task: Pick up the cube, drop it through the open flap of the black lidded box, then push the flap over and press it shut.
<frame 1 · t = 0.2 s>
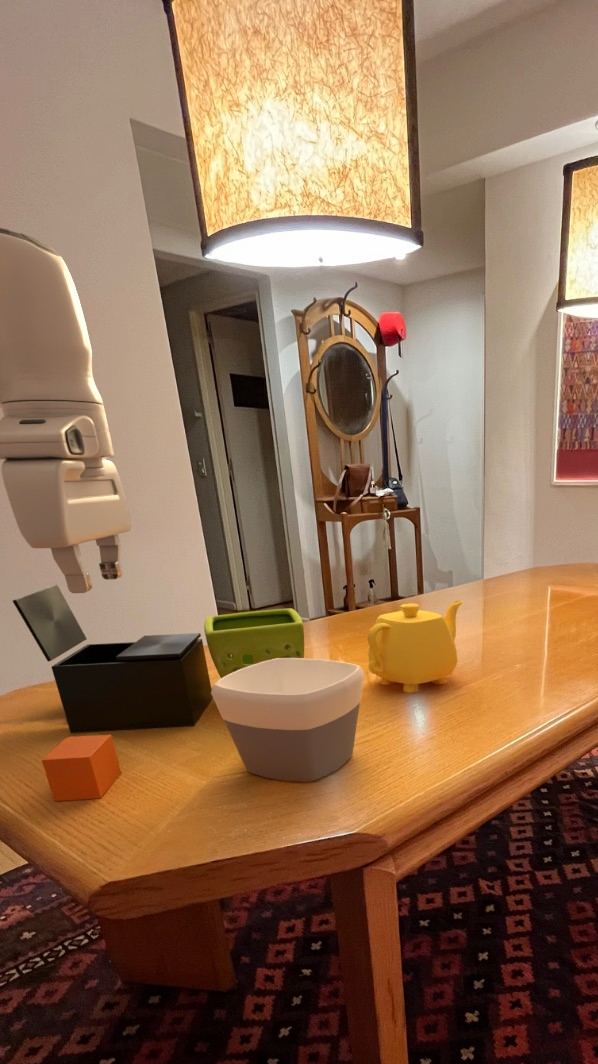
hand: (98, 585, 72), 22 cm above the table, tool pointing down, fingers open, 8 cm apart
cube: (89, 786, 78), on the table
flap: (52, 621, 94), point 14 cm above the table, hinge at 105.0°
teapot: (420, 681, 114), on the table
flower pot: (265, 701, 106), on the table
black lidded box: (146, 714, 101), on the table
bowl: (301, 764, 83), on the table
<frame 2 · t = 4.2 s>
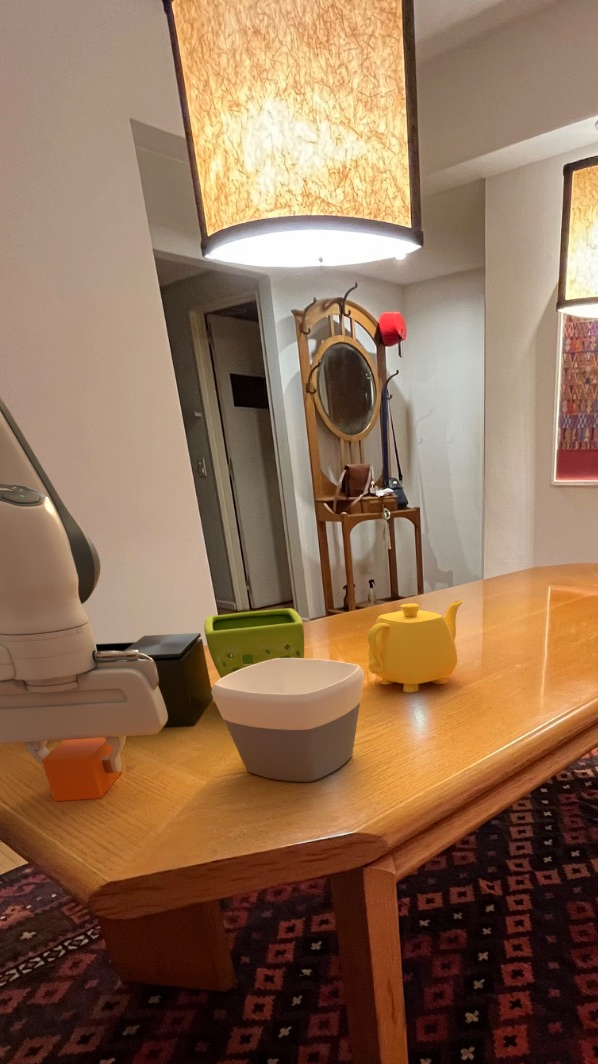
hand: (85, 773, 77), 2 cm above the table, tool pointing down, fingers closed on cube, 5 cm apart
cube: (89, 786, 78), on the table, touching gripper
everything else where it was.
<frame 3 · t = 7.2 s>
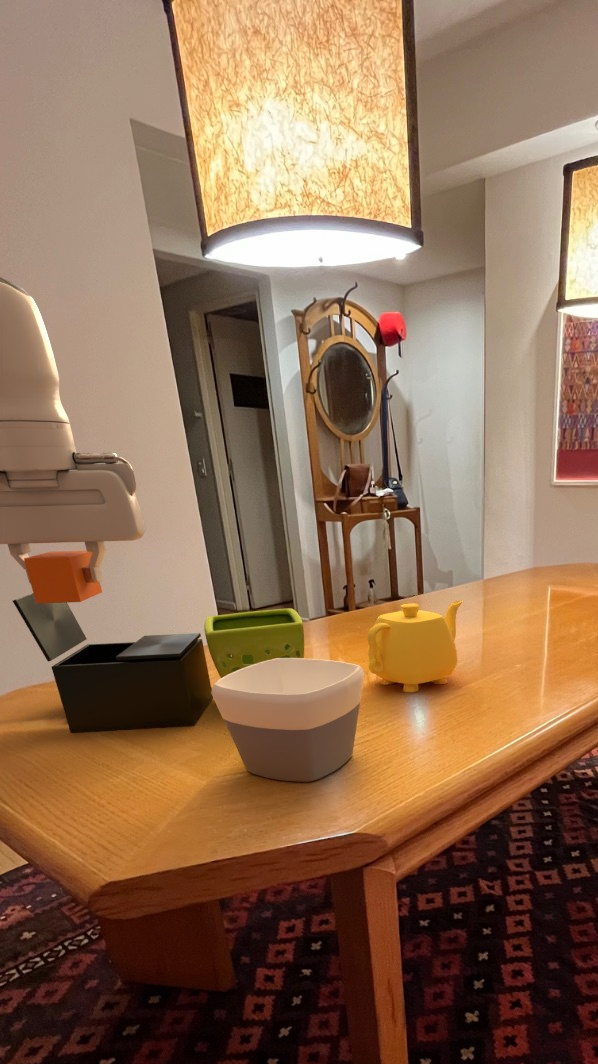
hand: (66, 583, 81), 21 cm above the table, tool pointing down, fingers closed on cube, 5 cm apart
cube: (70, 597, 82), point 19 cm above the table, touching gripper
everything else where it was.
when the fingers open (12 cm above the table, at t = 10.7 s): cube drops 10 cm, resting on black lidded box.
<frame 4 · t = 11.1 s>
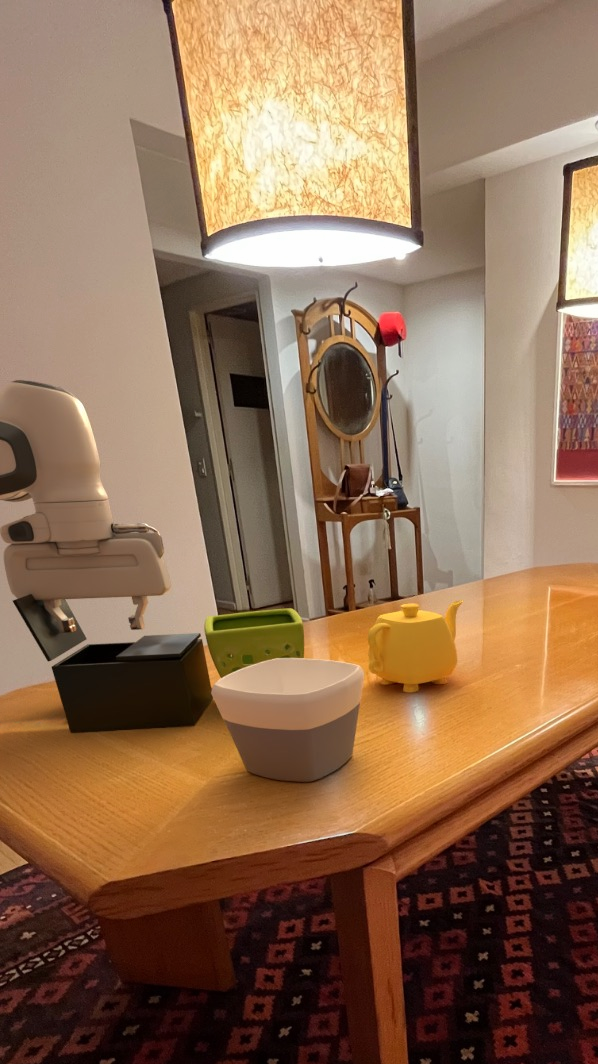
hand: (103, 630, 95), 13 cm above the table, tool pointing down, fingers open, 8 cm apart
cube: (124, 712, 101), resting on black lidded box
everything else where it was.
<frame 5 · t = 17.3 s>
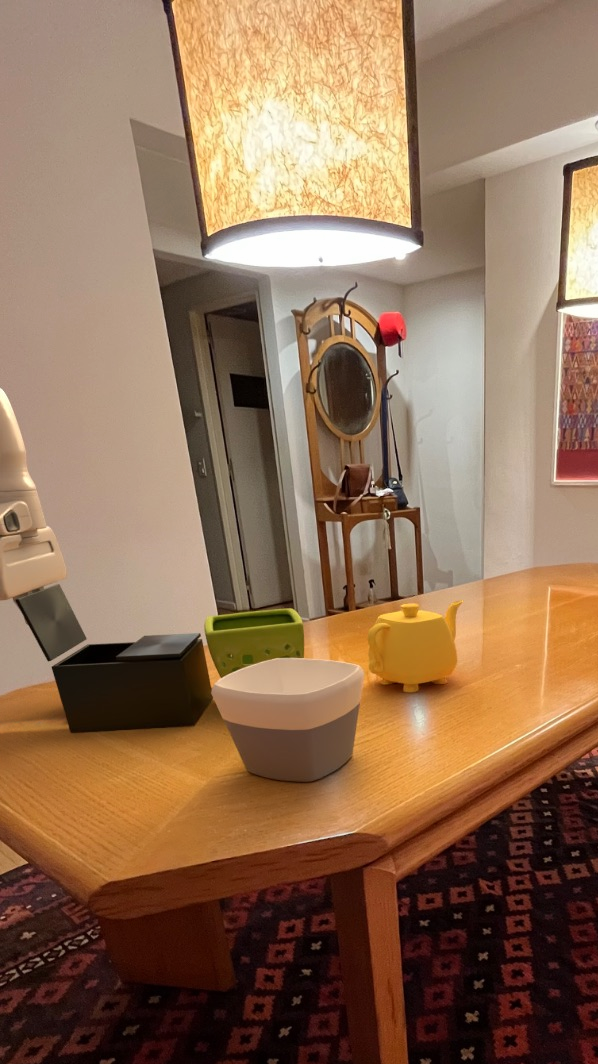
hand: (37, 623, 94), 14 cm above the table, tool pointing down, fingers closed, pressing on flap
flap: (53, 621, 94), point 14 cm above the table, hinge at 102.5°, touching gripper
everything else where it was.
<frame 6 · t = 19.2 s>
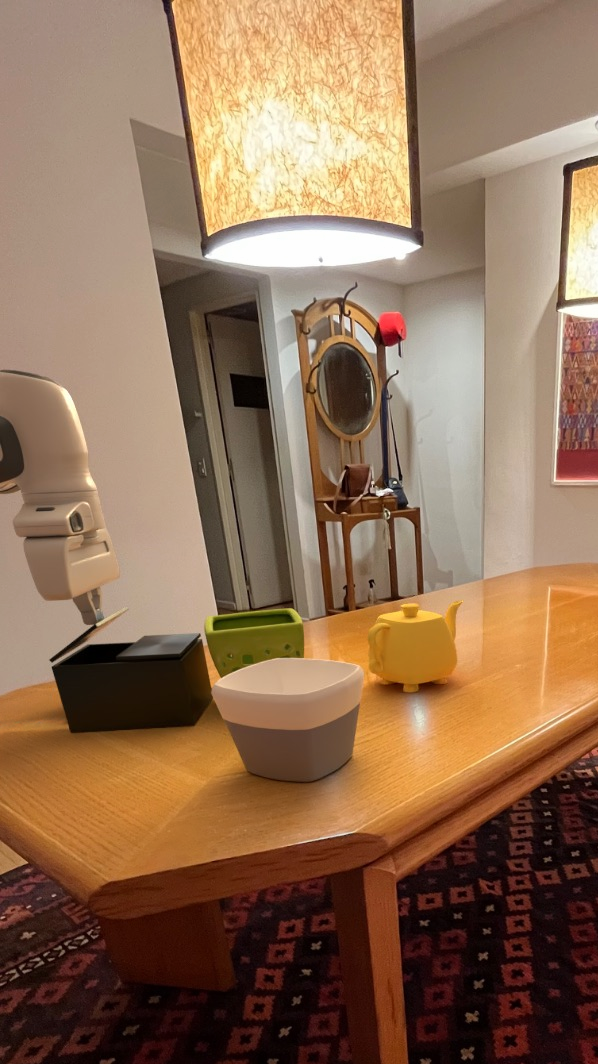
hand: (94, 622, 95), 14 cm above the table, tool pointing down, fingers closed
flap: (91, 633, 95), point 12 cm above the table, hinge at 32.1°, touching gripper
everything else where it was.
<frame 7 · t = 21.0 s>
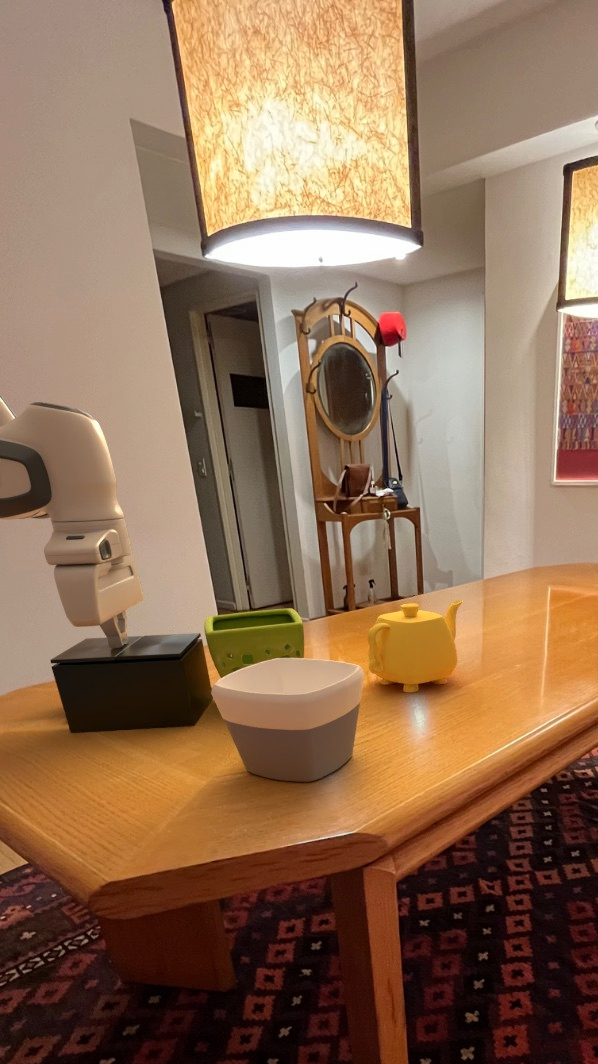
hand: (119, 645, 96), 10 cm above the table, tool pointing down, fingers closed, pressing on flap
flap: (99, 648, 96), point 10 cm above the table, hinge at 0.0°, touching gripper
everything else where it was.
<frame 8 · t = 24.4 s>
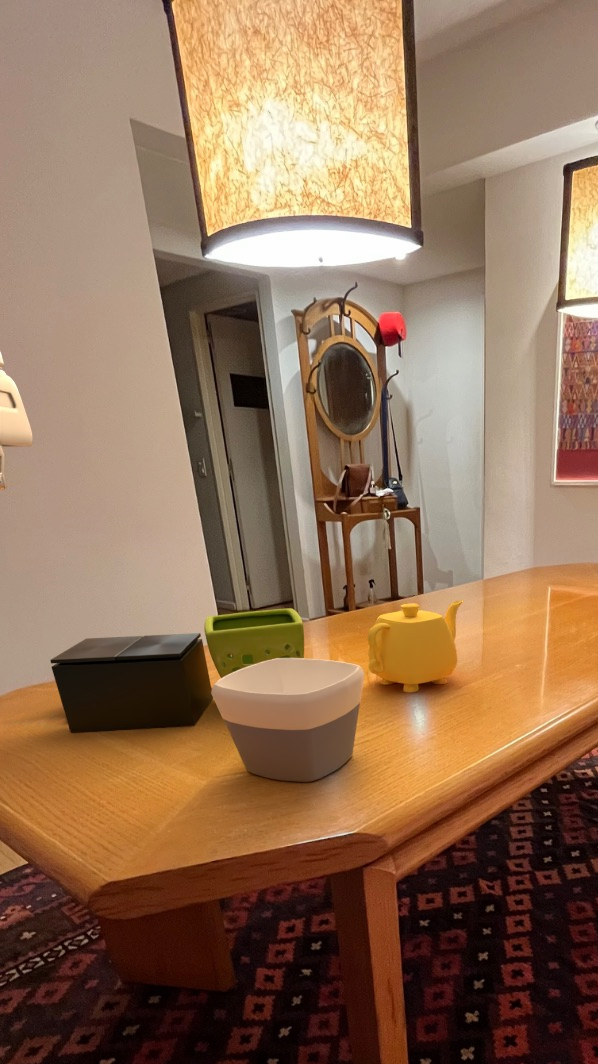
flap: (99, 648, 96), point 10 cm above the table, hinge at 0.0°
everything else where it was.
at the end: cube inside the target area in the black lidded box (3.1 cm from its centre), point 0.5 cm above the black lidded box's base; flap at +0° (first picture: +105°) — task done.
